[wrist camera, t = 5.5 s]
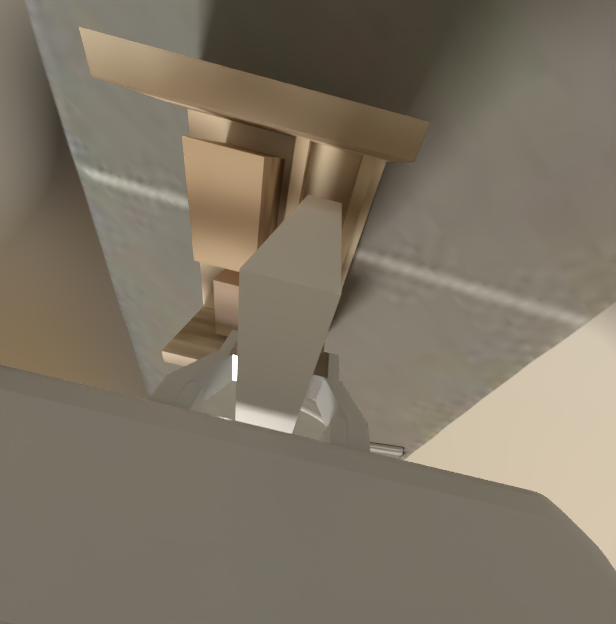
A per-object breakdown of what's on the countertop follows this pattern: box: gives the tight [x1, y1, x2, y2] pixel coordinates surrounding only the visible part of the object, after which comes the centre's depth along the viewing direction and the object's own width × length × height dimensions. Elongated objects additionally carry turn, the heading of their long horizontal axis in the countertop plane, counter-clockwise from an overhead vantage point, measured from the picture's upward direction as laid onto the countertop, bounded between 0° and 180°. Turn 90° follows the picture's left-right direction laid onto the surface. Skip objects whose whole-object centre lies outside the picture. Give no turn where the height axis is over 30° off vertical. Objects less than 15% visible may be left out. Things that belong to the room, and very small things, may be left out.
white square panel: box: [235, 195, 342, 434], centre depth 14 cm, size 12×2×13 cm, turn 168°
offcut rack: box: [79, 27, 430, 366], centre depth 20 cm, size 22×16×10 cm
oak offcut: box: [182, 136, 285, 272], centre depth 18 cm, size 8×5×6 cm, turn 168°
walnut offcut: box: [213, 269, 239, 336], centre depth 23 cm, size 6×4×5 cm, turn 168°
